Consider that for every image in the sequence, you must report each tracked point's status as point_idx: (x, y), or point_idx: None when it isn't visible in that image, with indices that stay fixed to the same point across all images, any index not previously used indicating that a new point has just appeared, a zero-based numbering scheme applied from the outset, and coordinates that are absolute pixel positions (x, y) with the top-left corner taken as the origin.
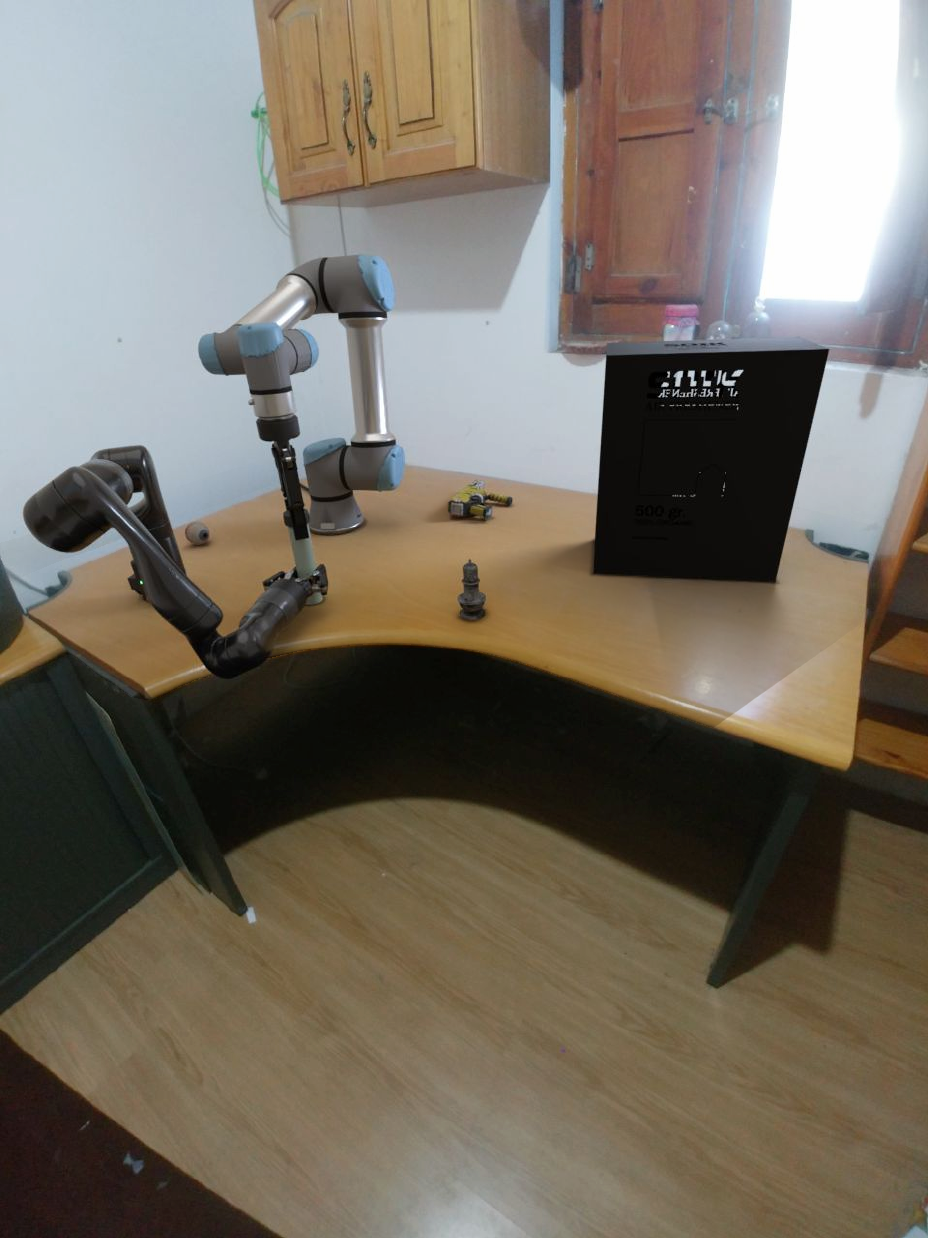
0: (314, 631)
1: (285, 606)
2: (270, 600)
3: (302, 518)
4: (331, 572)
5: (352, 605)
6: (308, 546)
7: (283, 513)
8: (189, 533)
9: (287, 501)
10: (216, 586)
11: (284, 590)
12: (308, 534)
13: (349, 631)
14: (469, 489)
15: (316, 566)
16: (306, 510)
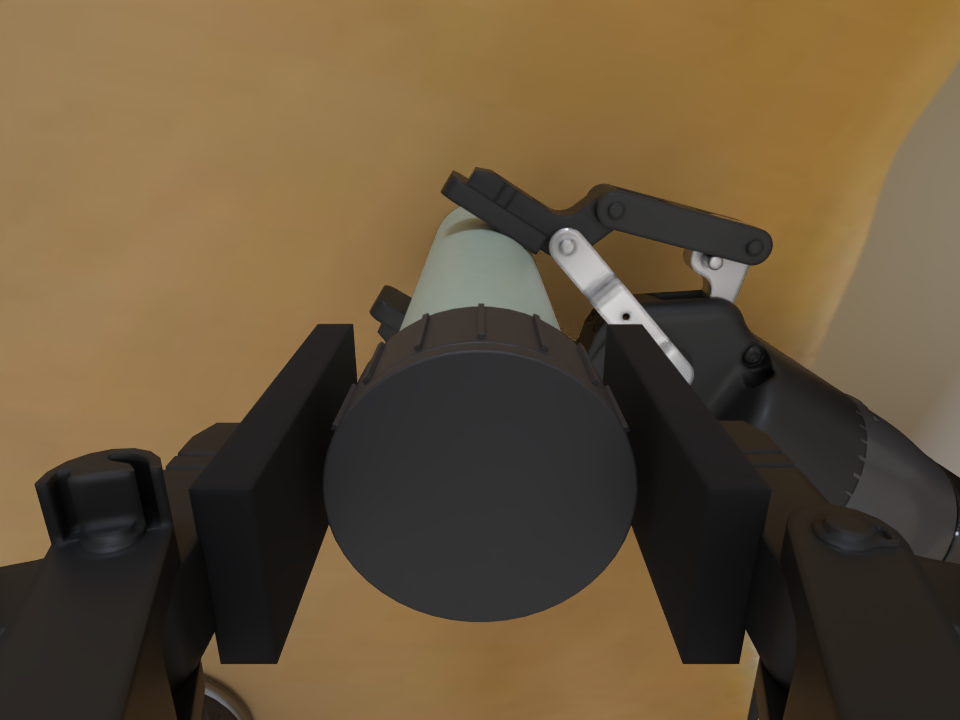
0: (770, 295)
1: (931, 474)
2: (933, 556)
3: (786, 462)
4: (181, 88)
5: (634, 72)
6: (551, 307)
7: (452, 615)
8: None
9: (279, 615)
10: None
11: (860, 482)
12: (648, 337)
13: (871, 152)
14: None
15: (491, 232)
16: (497, 367)
